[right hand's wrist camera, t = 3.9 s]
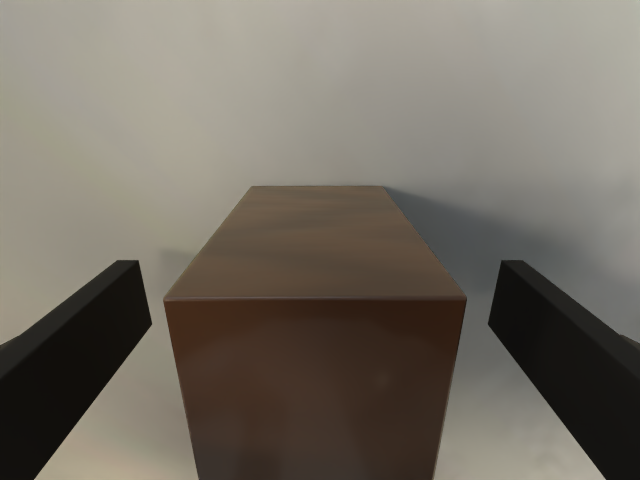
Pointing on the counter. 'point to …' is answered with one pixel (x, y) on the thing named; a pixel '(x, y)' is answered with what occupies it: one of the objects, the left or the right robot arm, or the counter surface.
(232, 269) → the walnut bar
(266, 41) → the counter surface
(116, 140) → the counter surface
